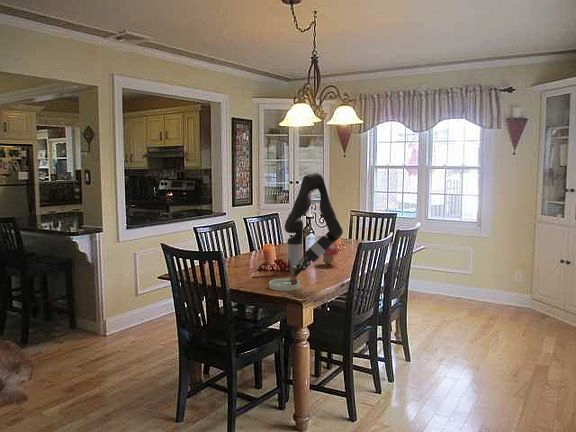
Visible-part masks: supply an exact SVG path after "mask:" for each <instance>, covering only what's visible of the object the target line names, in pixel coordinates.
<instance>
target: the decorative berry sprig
mask: <svg viewBox="0 0 576 432" xmlns="http://www.w3.org/2000/svg"><path fill="white" fill-rule="evenodd" d="M274 262H275V263H274ZM273 263H274V264H276V265H275V266H276V267H275V266H274V267H275V270H274V274H272V275H271V274H270V275H259V276H258V275H257V276H252V277H251V278H252V279H257V278H258V279H259V278H260V277H261V278H270V277H275V278H276V273H277V269H279V268H280V270H279V271H286V270H287V268H288V265H287V262H285V260H283V258H277V259H274V260H273ZM278 266H279V267H278ZM285 277H290V275H286V274H285Z"/></svg>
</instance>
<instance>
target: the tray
mask: <svg viewBox="0 0 576 432" xmlns="http://www.w3.org/2000/svg"><path fill="white" fill-rule="evenodd" d="M290 280H291V278H273V279H272V280H270V281H269V282H268V284H269V285H268V287H269V288H268V289H271V290H274V291H280V292H289V291H290V292H291V291H296V290H298V289H301V282H300V281H301V280H298V279H297V283H296V284H295V285H291V282H290Z"/></svg>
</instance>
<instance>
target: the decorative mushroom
mask: <svg viewBox="0 0 576 432" xmlns="http://www.w3.org/2000/svg"><path fill="white" fill-rule="evenodd" d="M338 254H339V249H338V247H337V245H335V243H332V244H331V245H330V246H329V248H328V249H327V250H326V251H325V252H324V253H323V254H322V255H321V256H323V257H322V258H323V259H322V262H323V263H324V264H326V265H331V264H333V262H334V256H337V255H338Z"/></svg>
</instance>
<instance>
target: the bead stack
mask: <svg viewBox="0 0 576 432" xmlns="http://www.w3.org/2000/svg"><path fill="white" fill-rule="evenodd" d="M296 270H297V267H296V266H291V269H290V271H289V272H290V276H289V277H290V279H291V280H290V282H291V285H295V284H296V283H297V280H298V279H297V278H298V275H296V274H295V273H294V272H295V271H296Z"/></svg>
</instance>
